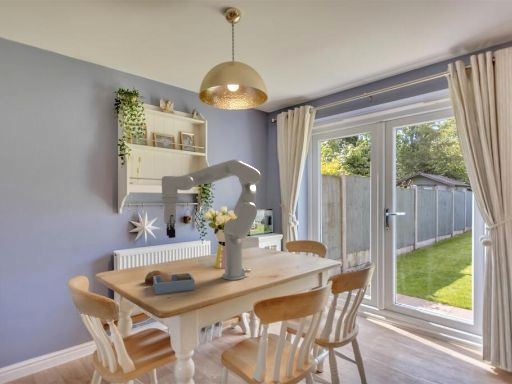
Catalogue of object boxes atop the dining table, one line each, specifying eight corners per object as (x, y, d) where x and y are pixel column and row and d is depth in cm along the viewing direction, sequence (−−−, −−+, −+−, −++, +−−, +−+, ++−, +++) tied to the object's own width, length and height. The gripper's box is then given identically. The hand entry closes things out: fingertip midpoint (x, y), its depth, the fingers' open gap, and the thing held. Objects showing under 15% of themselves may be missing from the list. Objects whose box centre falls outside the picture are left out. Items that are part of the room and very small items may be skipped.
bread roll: (160, 286, 161) (157, 271, 163) (171, 281, 155) (167, 266, 158) (143, 290, 154) (140, 275, 156) (154, 285, 148) (150, 269, 150)
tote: (189, 282, 156) (189, 272, 156) (194, 290, 143) (194, 279, 143) (153, 286, 149) (153, 276, 149) (155, 294, 136) (155, 283, 136)
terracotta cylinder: (160, 286, 146) (160, 272, 146) (170, 285, 148) (170, 271, 148) (161, 289, 142) (161, 274, 142) (172, 288, 143) (172, 273, 143)
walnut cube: (177, 285, 149) (177, 274, 149) (187, 283, 151) (187, 273, 151) (178, 288, 145) (178, 277, 145) (189, 286, 146) (189, 276, 146)
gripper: (160, 200, 157) (161, 234, 157) (164, 201, 141) (165, 239, 141) (175, 200, 160) (176, 233, 160) (180, 201, 144) (181, 238, 144)
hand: (170, 236), depth 151 cm, fingers open, 7 cm apart
